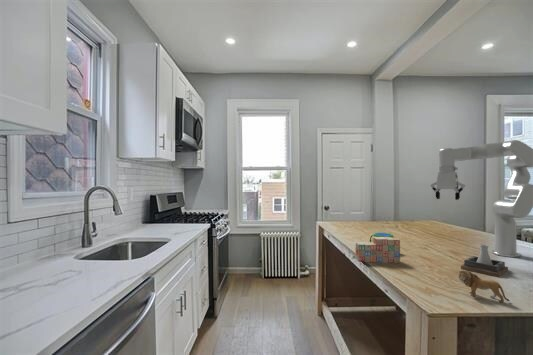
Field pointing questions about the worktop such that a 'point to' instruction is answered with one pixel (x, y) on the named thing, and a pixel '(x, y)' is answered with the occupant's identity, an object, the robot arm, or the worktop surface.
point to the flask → (484, 256)
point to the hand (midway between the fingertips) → (447, 199)
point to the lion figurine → (481, 284)
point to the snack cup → (381, 235)
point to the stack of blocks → (379, 250)
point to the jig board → (484, 267)
